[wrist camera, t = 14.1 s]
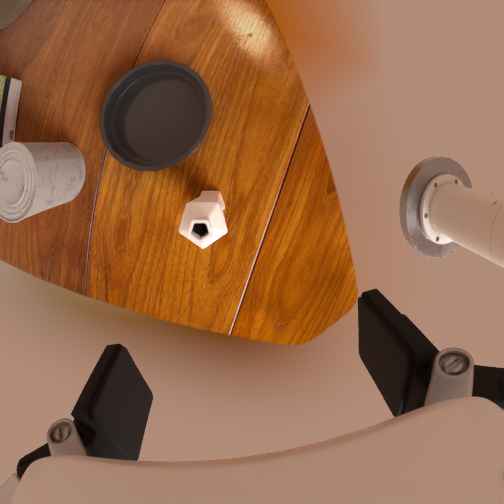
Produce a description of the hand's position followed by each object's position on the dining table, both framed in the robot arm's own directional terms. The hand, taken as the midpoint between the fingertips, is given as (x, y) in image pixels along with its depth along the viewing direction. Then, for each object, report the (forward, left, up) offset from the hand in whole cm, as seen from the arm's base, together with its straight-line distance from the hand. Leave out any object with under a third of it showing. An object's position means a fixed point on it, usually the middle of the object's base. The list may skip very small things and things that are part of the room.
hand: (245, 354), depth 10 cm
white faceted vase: (+3, -2, -30) cm, 30 cm away
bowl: (+6, -15, -30) cm, 34 cm away
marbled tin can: (+24, -13, -30) cm, 40 cm away
